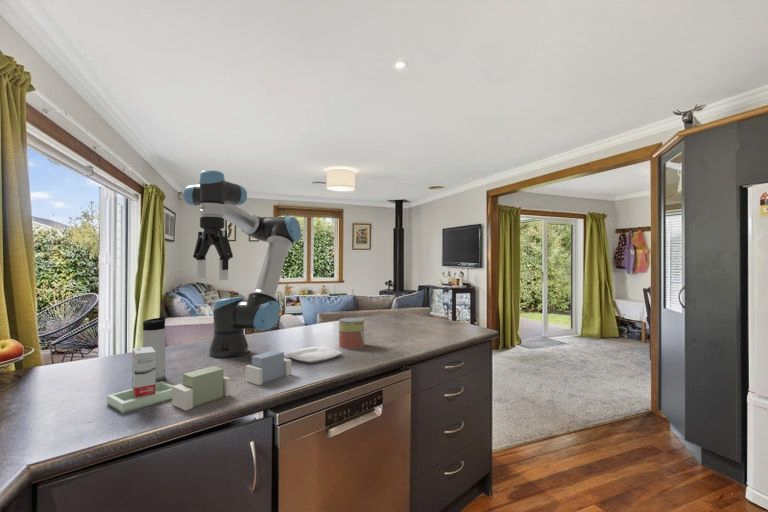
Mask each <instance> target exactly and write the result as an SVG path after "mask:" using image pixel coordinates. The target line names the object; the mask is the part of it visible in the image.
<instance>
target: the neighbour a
mask: <svg viewBox="0 0 768 512" xmlns="http://www.w3.org/2000/svg"><path fill="white" fill-rule="evenodd" d="M223 376H224V368H221V367H220V366H215V365H214V366H213V365H212V366H209V367H204V368H201V369H196V370H192V371H190V372H185V373H183V374H182V385H183V386H186V387H188V388H191V389H193V407H197V406H199V405H202V404H205V403H208V402H211V401H214V400H217V399H221V398H223V397H224V395H223Z"/></svg>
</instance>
